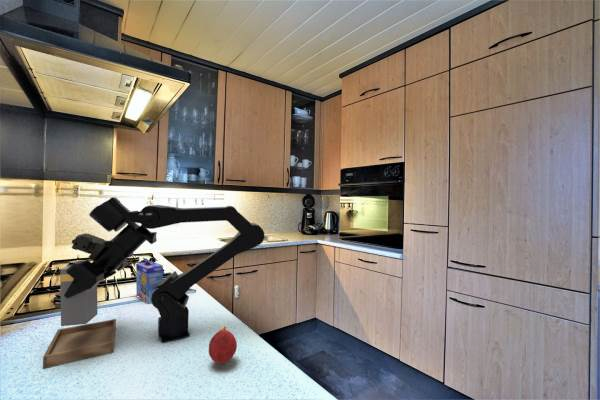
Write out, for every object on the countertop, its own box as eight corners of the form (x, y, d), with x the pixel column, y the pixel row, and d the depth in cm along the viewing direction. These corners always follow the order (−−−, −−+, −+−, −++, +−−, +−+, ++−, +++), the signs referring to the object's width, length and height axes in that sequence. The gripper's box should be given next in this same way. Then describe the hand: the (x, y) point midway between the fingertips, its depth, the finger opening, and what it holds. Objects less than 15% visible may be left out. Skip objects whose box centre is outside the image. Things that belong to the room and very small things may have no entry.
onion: (237, 370, 57) (237, 331, 57) (207, 374, 56) (208, 334, 56) (235, 354, 63) (236, 319, 63) (208, 358, 61) (209, 322, 61)
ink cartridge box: (134, 297, 98) (135, 256, 98) (151, 293, 102) (151, 254, 102) (146, 304, 92) (147, 260, 92) (163, 300, 96) (164, 258, 96)
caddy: (97, 314, 70) (97, 262, 70) (86, 324, 65) (85, 268, 65) (74, 316, 69) (73, 263, 69) (60, 326, 63) (59, 269, 63)
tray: (116, 327, 75) (116, 318, 75) (113, 352, 63) (113, 341, 63) (57, 339, 69) (58, 329, 69) (42, 368, 57) (43, 357, 57)
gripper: (114, 219, 77) (67, 261, 74) (76, 225, 58) (13, 282, 56) (145, 246, 78) (101, 288, 76) (119, 261, 60) (59, 317, 58)
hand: (73, 292), depth 66 cm, fingers closed on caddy, 5 cm apart
